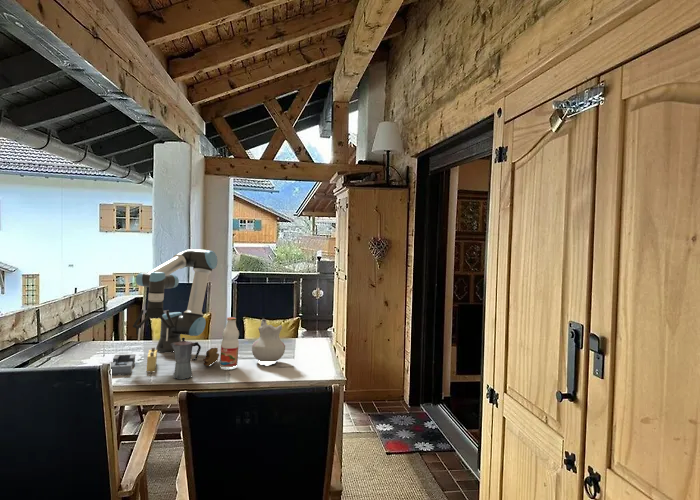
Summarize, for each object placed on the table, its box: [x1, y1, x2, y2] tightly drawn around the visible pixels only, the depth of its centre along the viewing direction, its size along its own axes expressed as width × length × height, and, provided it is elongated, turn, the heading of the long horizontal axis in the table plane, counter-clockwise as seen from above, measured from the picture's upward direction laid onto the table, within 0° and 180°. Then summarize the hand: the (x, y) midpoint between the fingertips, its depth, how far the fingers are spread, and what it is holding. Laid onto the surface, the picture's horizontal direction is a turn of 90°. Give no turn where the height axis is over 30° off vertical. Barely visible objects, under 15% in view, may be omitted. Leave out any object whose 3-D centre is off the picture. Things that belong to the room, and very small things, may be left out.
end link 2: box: [109, 361, 133, 377], centre depth 221 cm, size 8×10×4 cm
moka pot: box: [170, 337, 202, 380], centre depth 221 cm, size 10×15×20 cm, turn 95°
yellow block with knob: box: [146, 347, 158, 372], centre depth 233 cm, size 15×4×10 cm, turn 21°
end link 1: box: [112, 353, 136, 367], centre depth 235 cm, size 8×10×4 cm
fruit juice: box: [219, 316, 240, 367], centre depth 242 cm, size 9×9×28 cm
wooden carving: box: [202, 347, 220, 367], centre depth 244 cm, size 16×5×10 cm, turn 178°
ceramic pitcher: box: [251, 318, 286, 361], centre depth 257 cm, size 22×20×25 cm
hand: (152, 340), depth 233 cm, fingers open, 13 cm apart
